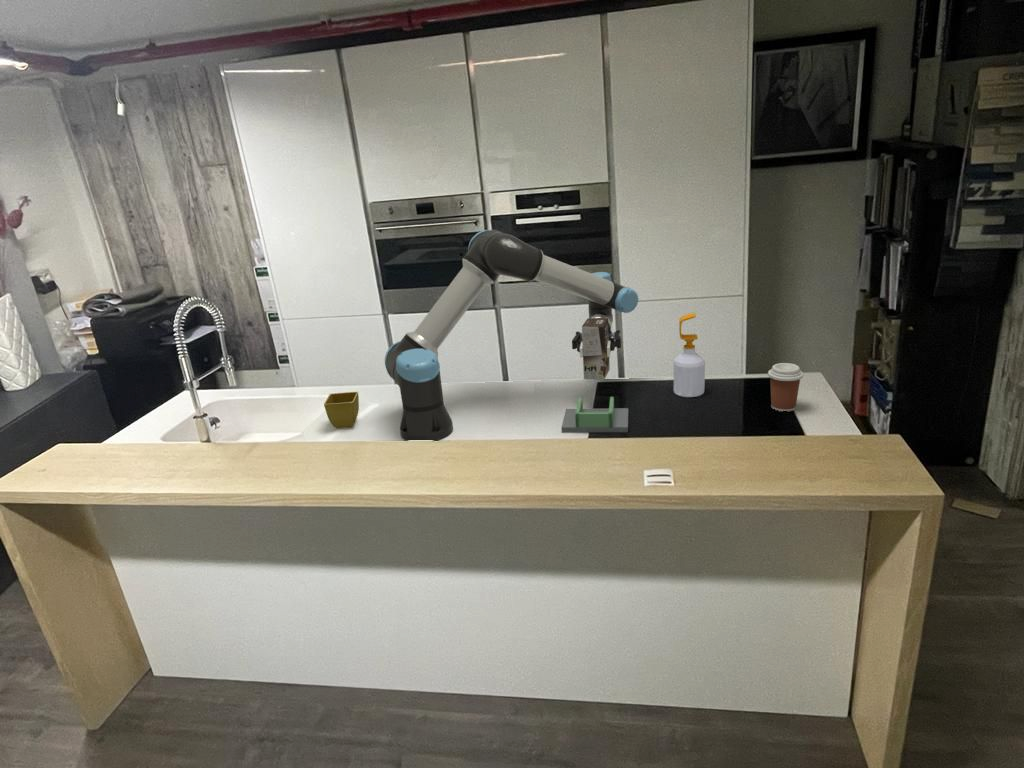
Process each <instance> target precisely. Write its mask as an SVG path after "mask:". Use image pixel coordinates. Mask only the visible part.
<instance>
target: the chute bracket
mask: <svg viewBox="0 0 1024 768" xmlns="http://www.w3.org/2000/svg"><path fill="white" fill-rule="evenodd" d="M583 405H584V404H583V397H582V396H580V397H578V400H577V405H576V408H565V411H564V415H563V419H562V425H561V433H629V408H627V407H624V408H623V407H622V408H621V407H619V408H617V407H616V408H615V397H614V396H609V405H608V406H609V407H608V408H607V407H606V408H601V407H600V408H584V406H583Z"/></svg>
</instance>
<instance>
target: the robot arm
mask: <svg viewBox="0 0 1024 768" xmlns="http://www.w3.org/2000/svg"><path fill="white" fill-rule="evenodd" d="M500 276H503V277H511V278H515V279H520V280H522V281H525V282H530V283H531V282H534V281H536V282H539V283H541V284H544V285H548V286H550V287H553V288H555V289H558V290H560V291H564V292H566V293H569V294H572V295H574V296H578V297H580V298H583V299H585V300H587V301H588V318H593V319H594V318H608V333H609V341H608V344H607V357H609V358H610V357H611V352H615V348H616V349H621V348H622V338H621V330H616V331H612V325H613V321H614V318H613V316H614V315H613V310H616V311H617V312H619V313H624V314H629V313H631V312H633V311H635V309H636V307H637V306H638V304H639V294H638V293H637V292H636V290H634V289H633V288H630V287H628V286H625V285H621V284H620V283H619V284H618V283H616V282H613V281H612V276H611V274H610V273H609V272H605V271H598V272H588V271H585V270H583V269H581V268H578V267H576V266H573V265H570V264H568V263H565V262H563V261H560V260H557V259H556V258H553V257H550V256H548V255H546V254H544V252H543V250H542V249H540V248H537V247H535V246H532V245H531V244H529V243H527V242H525V241H523V240H521V239H519V238H518V237H516V236H514V235H512V234H509V233H505V232H501V231H499V230H497V229H485V230H482V231H479V232H477V233H476V234H475V235H473V237H472V238H471V239H470V241H469V244H468V247H467V252H466V254H465V255H464V257H463V258H462V268H461V269H460V270H459V271H458V273H457V274H456V276H454V278H453V280H452V281H451V282H450V284H449V285H448V286H447V287H446V289H445V290H444V292H443V293H442V294H441V296H440V297H439V298H438V299H437V300H436V302H435V303H434V305H433V307H431V308H430V310H429V312H428V313H427V314H426V315H425V317H424V318H423V320H422V321H421V322H420V323H419V325H417V328H415V330H414V331H409V332H406V334H405V335H404V336H403V337H402V338H401V340H400V341H397V342H395V343H392V345H391V346H389V348H388V349H387V351H386V354H385V356H384V366H385V369H386V372H387V375H389V377H390V378H391V380H393V381H394V382H395V383H396V385H398V387H399V391H400V398H401V399H400V400H401V403H402V405H401V406H402V414H401V420H400V425H399V434H400V437H401V438H402V439H403V440H404V441H406V440H436V441H439V440H441V439H444V438H446V437H448V436H450V435H451V433H453V430H454V424H453V419H452V418H451V416H450V414H449V411H448V410H447V408H446V405H445V403H444V402H445V401H444V394H443V388H442V387H443V386H442V379H441V370H440V369H441V365H440V361H439V351H438V350H439V348H440V347H441V345H442V344H443V342H444V341H445V340H446V338H447V337H448V336H449V335H450V333H451V332H452V330H453V329H454V328H455V326H456V325H457V324H458V323H459V321H460V320H461V319H462V317H463V316H464V315H465V313H466V311H468V309H469V308H470V307H471V305H472V304H473V303H474V302H475V300H476V299H477V297H478V296H479V295H480V294H481V292H482V291H483V289H484V288H485V287H486V286H487V285H492V284H494V283H496V281H497V280H498V278H499V277H500ZM571 348H572V350H576V351H577V352H578V353H579V357H580V358H583V344H582V332H580V331H575V336H574V337H573V338H572V340H571Z"/></svg>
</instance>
